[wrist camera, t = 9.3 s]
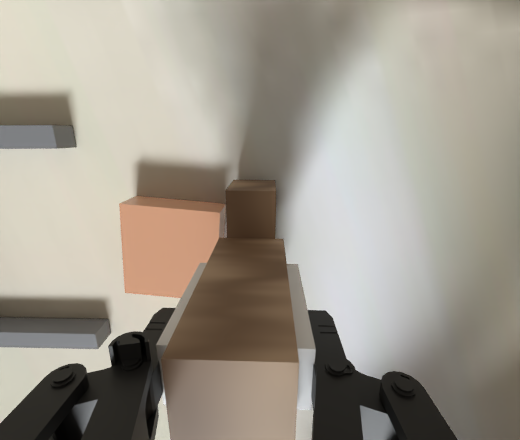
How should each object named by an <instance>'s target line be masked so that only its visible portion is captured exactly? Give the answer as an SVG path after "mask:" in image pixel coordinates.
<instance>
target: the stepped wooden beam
mask: <svg viewBox="0 0 520 440" xmlns="http://www.w3.org/2000/svg"><path fill="white" fill-rule="evenodd" d="M226 219H227V238H219V239H218V241H217V243H216V245H215V247H214V250H213V252H212V254H211V256H210V258H209V260H208V262H207V264H206V266H205V268H204V270H203V272H202V275H201V277H200V279H199V281H198V283H197V285H196V287H195V289H194V291H193V293H192V295H191V297H190V299H189V302H188V304H187V306H186V308H185V310H184V312H183V314H182V316H181V318H180V320H179V322H178V324H177V326H176V329H175V331H174V333H173V335H172V337H171V339H170V341H169V343H168V345H167V347H166V349H165V351H164V353H163V356H162V358H161V364H162V372H163V381H164V389H165V397H166V406H167V414H168V422H169V430H170V439H171V440H295V433H296V414H297V395H298V376H299V357H298V349H297V342H296V334H295V326H294V318H293V311H292V303H291V295H290V287H289V279H288V272H287V264H286V256H285V248H284V241H283V239H275V224H276V185H275V180H233V181H232V183H231V184H230V185H229V187H228V188H227V189H226Z"/></svg>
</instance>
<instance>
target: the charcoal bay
mask: <svg viewBox="0 0 520 440" xmlns="http://www.w3.org/2000/svg"><path fill="white" fill-rule="evenodd" d="M70 147H76V143H75V138H74V132H73V127H72V126H61V125H0V149H30V148H70ZM110 334H111V332H110V327H109V321H108V319H69V318H11V317H0V347H24V348H72V349H99V347H100V346H101V345H102V344H103V342H104V341H105V340H106V339H107V337H108V336H109V335H110Z"/></svg>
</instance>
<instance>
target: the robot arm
mask: <svg viewBox="0 0 520 440" xmlns="http://www.w3.org/2000/svg"><path fill="white" fill-rule="evenodd" d="M206 264H207V263H200V264H199V265H198V267H197V269H196V271H195V273H194V275H193V277H192V279H191V280H190V282H189V284H188V286H187V288H186V290H185V292H184V294H183V295H182V297H181V299H180V301H179V303H178V305H177V307H176V308H162V309H161V310H159V311H158V312H157V313H155V314H154V316H153V317H152V319H151V320H150V322H149V324H148V325H147V327H146V328H145V330H144V331H143V332H129V333H125V334H123V335H121V336H118V337H117V338H116V339H114V340H113V341H112V342H111V343H110V345H109V346H108V348H109V353H110V359H111V364H112V366H111V367H110V368H107V369H104V370H99V371H95V372H90V373H87V371H86V368H85V367H84V366H83V365H81V364H77V363H76V364H68V365H65V366H62V367H59V368H58V369H56V370H54V371H52V372H51V373H50V374H48V375H47V376H46V377H45V378H44V379H43V380H42V381H41V382H40V383H39V384H38V385H37V386H36V387H35V388H34V389H33V390H32V391H31V392H30V393H29V394H28V395H27V396H26V397H25V398H24V399H23V400H22V402H21V403H20V404H19V405H18V406H17V407H16V408H15V409H14V410H13V411H12V412H11V413H10V414H9V415H8V416H7V417H6V418H5V419H4V420H3V421H2V422H1V423H0V440H154V439H155V434H156V428H157V422H158V417H159V415H158V403H159V401H160V398H161V396H162V397H163V405H166V397H165V389H164V381H163V372H162V364H161V358H162V356H163V353H164V351H165V349H166V347H167V345H168V343H169V341H170V339H171V337H172V335H173V333H174V331H175V329H176V326H177V324H178V322H179V320H180V318H181V316H182V314H183V312H184V310H185V308H186V306H187V304H188V302H189V299H190V297H191V295H192V293H193V291H194V289H195V287H196V285H197V283H198V281H199V279H200V277H201V275H202V272H203V270H204V268H205V266H206ZM287 272H288V279H289V287H290V295H291V303H292V311H293V318H294V326H295V334H296V342H297V349H298V357H299V376H298V395H297V410H311V408H312V404H313V411H314V414H313V427H312V440H457V438H456V437H455V435H454V434H453V432H452V431H451V429H450V427H449V426H448V424H447V423H446V421H445V420H444V418H443V417H442V415H441V414H440V412H439V410H438V409H437V407H436V406H435V404H434V403H433V401H432V400H431V398H430V397H429V395H428V394H427V392H426V390H425V389H424V387H423V386H422V385H421V384H420V383H419V382H418V381H417V380H416V379H414V378H413V377H411V376H409V375H407V374H404V373H402V372H395V371H393V372H387V373H386V374H385V375H383V377H382V380H380V379H377V378H373V377H370V376H367V375H364V374H362V373H360V372H358V371H356V370H355V367H354V366H353V364H352V363H351V362H350V361H349V360H347V359H346V356H345V353H344V350H343V347H342V344H341V341H340V338H339V335H338V334H337V329H336V327H335V324H334V321H333V318H332V317H331V316H330V315H329V314H328V313H327V312H326V311H317V310H307V305H306V301H305V296H304V291H303V287H302V282H301V277H300V273H299V268H298V264H287Z"/></svg>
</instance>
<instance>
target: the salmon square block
mask: <svg viewBox="0 0 520 440" xmlns="http://www.w3.org/2000/svg"><path fill="white" fill-rule="evenodd" d="M119 205H120V221H121V237H122V253H123V269H124V285H125V293H133V294H144V295H155V296H166V297H177V298H181V297H182V295H183V294H184V292H185V290H186V288H187V286H188V284H189V282H190V280H191V279H192V277H193V275H194V273H195V271H196V269H197V267H198V265H199V264H200V263H207V262H208V260H209V258H210V256H211V254H212V252H213V250H214V247H215V245H216V243H217V241H218V239H219V238H224V231H225V210H226V204H223V203H212V202H201V201H189V200H178V199H167V198H155V197H144V196H135V197H133V198H131V199H129V200H127V201H124V202H122V203H120V204H119Z"/></svg>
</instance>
